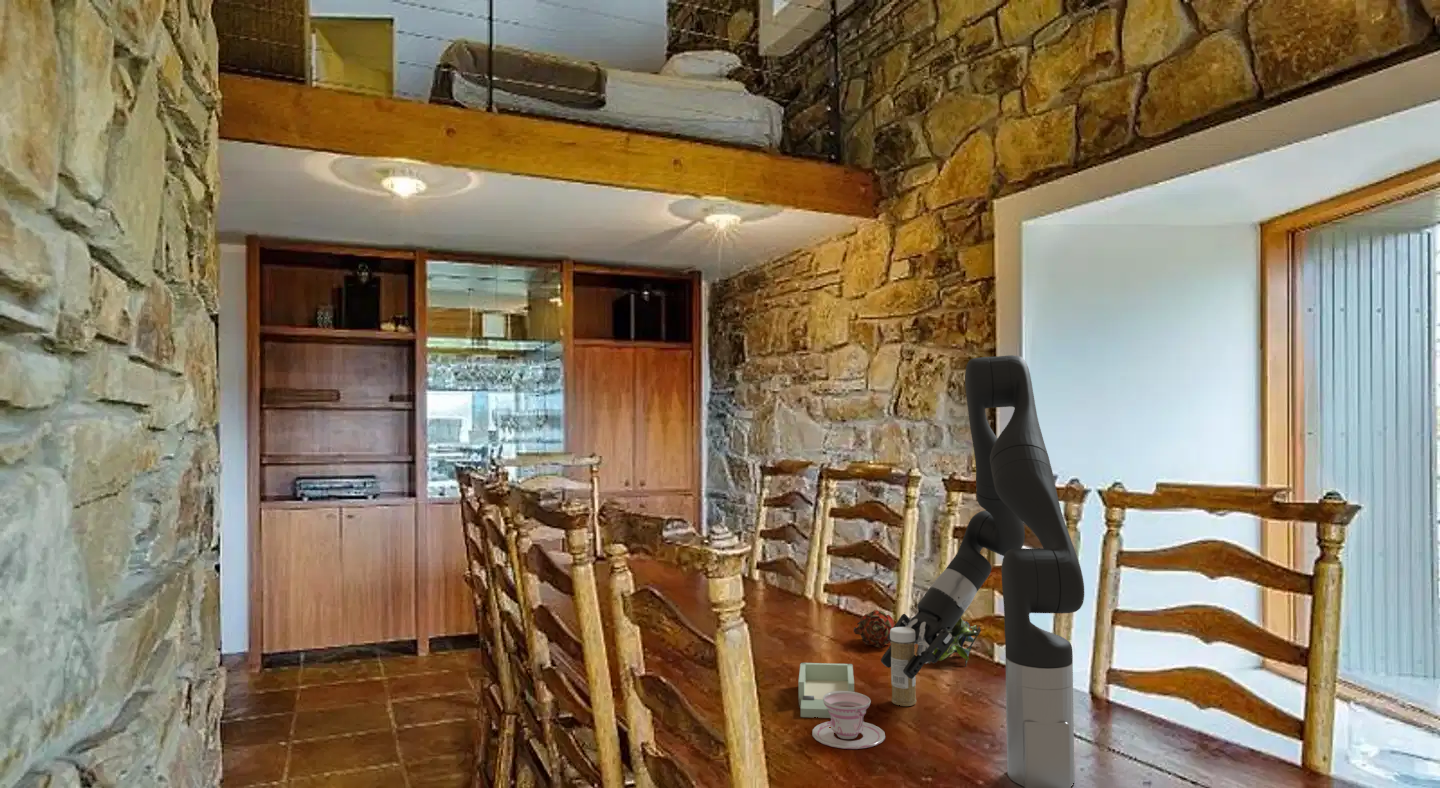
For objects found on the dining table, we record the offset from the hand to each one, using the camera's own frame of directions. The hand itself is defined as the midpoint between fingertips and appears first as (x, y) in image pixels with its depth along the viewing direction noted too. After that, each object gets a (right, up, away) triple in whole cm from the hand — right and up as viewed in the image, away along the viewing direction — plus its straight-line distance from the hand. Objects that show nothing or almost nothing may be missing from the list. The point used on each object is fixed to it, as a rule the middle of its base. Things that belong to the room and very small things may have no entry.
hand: (895, 669), depth 160 cm
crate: (-12, -6, +2) cm, 14 cm away
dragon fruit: (+3, -7, +40) cm, 40 cm away
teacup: (-11, -7, -15) cm, 20 cm away
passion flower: (+18, -7, +26) cm, 32 cm away
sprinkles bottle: (+2, -6, +1) cm, 7 cm away
